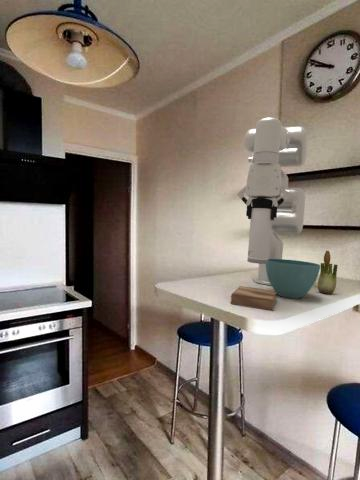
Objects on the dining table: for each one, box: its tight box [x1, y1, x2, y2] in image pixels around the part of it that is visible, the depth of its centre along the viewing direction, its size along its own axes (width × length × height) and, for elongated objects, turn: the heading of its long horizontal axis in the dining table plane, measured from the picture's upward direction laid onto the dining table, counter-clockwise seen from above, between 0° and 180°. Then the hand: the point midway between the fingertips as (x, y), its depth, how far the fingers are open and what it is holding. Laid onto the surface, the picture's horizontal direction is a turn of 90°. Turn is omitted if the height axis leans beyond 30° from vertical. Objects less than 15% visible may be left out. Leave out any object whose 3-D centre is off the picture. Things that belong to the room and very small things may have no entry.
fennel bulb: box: [317, 262, 339, 295], centre depth 111 cm, size 6×5×12 cm
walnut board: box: [230, 285, 277, 312], centre depth 90 cm, size 14×12×3 cm
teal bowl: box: [266, 258, 321, 299], centre depth 103 cm, size 18×18×12 cm
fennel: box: [314, 250, 337, 289], centre depth 125 cm, size 8×8×16 cm
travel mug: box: [246, 197, 273, 265], centre depth 89 cm, size 6×7×20 cm
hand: (260, 218), depth 89 cm, fingers closed on travel mug, 6 cm apart
